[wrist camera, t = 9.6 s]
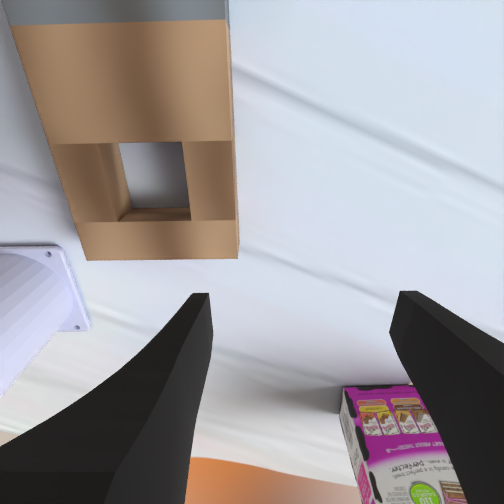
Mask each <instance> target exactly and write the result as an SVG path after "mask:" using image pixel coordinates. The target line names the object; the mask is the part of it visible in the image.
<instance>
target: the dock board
mask: <svg viewBox="0 0 504 504" xmlns="http://www.w3.org/2000/svg"><path fill="white" fill-rule="evenodd" d="M1 1H2V4H3V7H4V10H5V13H6V16H7V19H8V22H9V25H10V28H11V31H12V34H13V37H14V40H15V43H16V47H17V50H18V53H19V56H20V59H21V62H22V65H23V68H24V71H25V74H26V77H27V80H28V83H29V86H30V89H31V92H32V95H33V98H34V101H35V104H36V108H37V111H38V114H39V117H40V120H41V123H42V126H43V129H44V132H45V135H46V138H47V141H48V144H49V147H50V150H51V153H52V156H53V159H54V162H55V165H56V168H57V172H58V175H59V178H60V181H61V184H62V187H63V190H64V193H65V196H66V199H67V202H68V205H69V208H70V211H71V214H72V217H73V220H74V223H75V226H76V229H77V233H78V236H79V239H80V242H81V245H82V248H83V251H84V254H85V257H86V260H87V261H94V260H172V259H238V250H239V222H238V200H237V178H236V156H235V134H234V112H233V90H232V68H231V46H230V24H229V2H228V0H1ZM134 142H182V148H183V156H184V164H185V171H186V179H187V187H188V195H189V203H190V207H182V208H132V204H131V199H130V195H129V190H128V186H127V181H126V177H125V172H124V168H123V163H122V159H121V154H120V150H119V145H118V143H134Z"/></svg>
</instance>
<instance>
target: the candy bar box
mask: <svg viewBox="0 0 504 504" xmlns="http://www.w3.org/2000/svg"><path fill="white" fill-rule="evenodd" d="M339 419H340V423H341V427H342V431H343V434H344V438H345V441H346V445H347V449H348V452H349V456H350V460H351V464H352V468H353V471H354V475H355V478H356V482H357V485H358V489H359V493H360V497H361V501H362V504H467V501H466V498H465V496H464V493H463V490H462V488H461V485H460V483H459V480H458V478H457V475H456V473H455V470H454V468H453V465H452V463H451V460H450V458H449V456H448V453H447V451H446V449H445V446H444V444H443V442H442V439H441V437H440V435H439V432H438V430H437V428H436V426H435V424H434V422H433V420H432V418H431V416H430V414H429V412H428V410H427V409H426V407H425V405H424V403H423V401H422V399H421V398H420V396H419V394H418V392H417V390H416V389H415V387H414V385H395V386H370V387H346V388H343V392H342V401H341V406H340V412H339Z"/></svg>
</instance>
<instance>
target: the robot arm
mask: <svg viewBox="0 0 504 504" xmlns="http://www.w3.org/2000/svg"><path fill="white" fill-rule="evenodd" d="M47 251H48V252H50V253H51V255H50V254H49V253H48V252H47ZM77 325H78V326H77ZM90 326H91V325H90V322H89V319H88V317H87V314H86V311H85V308H84V306H83V303H82V300H81V297H80V295H79V292H78V289H77V286H76V284H75V281H74V278H73V275H72V273H71V270H70V267H69V264H68V262H67V259H66V256H65V253H64V251H63V250H62V249H61V248H60V247H58V246H17V247H0V398H1V397H2V396H3V395H4V394H5V392H6V391H7V390H8V389H9V388H10V386H11V385H12V384H13V383H14V382H15V381H16V379H17V378H18V377H19V376H20V375H21V373H22V372H23V371H24V370H25V369H26V368H27V366H28V365H29V364H30V363H31V362H32V360H33V359H34V358H35V357H36V356H37V354H38V353H39V352H40V351H41V350H42V349H43V347H44V346H45V345H46V344H47V343H48V341H49V340H50V339H51V338H52V337H53V336H54V334H55V333H56V332H82V331H88V330H89V328H90ZM389 333H390V336H391V339H392V342H393V344H394V347H395V350H396V352H397V355H398V357H399V359H400V361H401V363H402V365H403V367H404V368H405V370H406V372H407V374H408V376H409V378H410V379H411V381H412V383H413V385H414V387H415V389H416V390H417V392H418V394H419V396H420V398H421V399H422V401H423V403H424V405H425V407H426V409H427V410H428V412H429V414H430V416H431V418H432V420H433V422H434V424H435V426H436V428H437V430H438V432H439V435H440V437H441V439H442V442H443V444H444V446H445V449H446V451H447V453H448V456H449V458H450V460H451V463H452V465H453V468H454V470H455V473H456V475H457V478H458V480H459V483H460V485H461V488H462V490H463V493H464V496H465V498H466V501H467V504H504V343H502V342H501V341H499V340H497V339H495V338H494V337H492V336H490V335H488V334H487V333H485V332H483V331H482V330H480V329H478V328H477V327H475V326H473V325H472V324H470V323H468V322H467V321H465V320H464V319H462V318H460V317H459V316H457V315H456V314H454V313H452V312H451V311H449V310H448V309H446V308H444V307H443V306H441V305H440V304H438V303H437V302H435V301H433V300H432V299H430V298H428V297H427V296H425V295H423V294H422V293H420V292H418V291H400V293H399V296H398V300H397V304H396V308H395V312H394V316H393V319H392V323H391V327H390V331H389ZM212 341H213V326H212V317H211V308H210V299H209V293H193V294H191V295H190V297H189V298H188V299H187V300H186V302H185V303H184V304H183V305H182V307H181V308H180V309H179V310H178V311H177V313H176V314H175V315H174V316H173V317H172V318H171V320H170V321H169V322H168V323H167V324H166V325H165V326H164V327H163V329H162V330H161V331H160V332H159V333H158V334H157V335H156V336H155V337H154V338H153V339H152V340H151V341H150V342H149V343H148V344H147V345H146V346H145V347H144V348H143V349H142V350H141V351H140V352H139V353H138V354H137V355H136V356H134V357H133V358H132V359H131V360H130V361H129V362H128V363H127V364H125V365H124V366H123V367H122V368H121V369H119V370H118V371H117V372H116V373H114V374H113V375H112V376H110V377H109V378H108V379H106V380H105V381H104V382H102V383H101V384H100V385H98V386H97V387H96V388H94V389H93V390H92V391H90V392H89V393H88V394H86V395H85V396H83V397H82V398H80V399H79V400H77V401H76V402H74V403H73V404H71V405H70V406H68V407H67V408H65V409H63V410H62V411H60V412H59V413H57V414H56V415H54V416H52V417H51V418H49V419H47V420H46V421H44V422H42V423H41V424H39V425H37V426H35V427H34V428H32V429H30V430H28V431H27V432H25V433H23V434H21V435H20V436H18V437H16V438H15V439H13V440H11V441H9V442H7V443H6V444H4V445H2V446H1V447H0V504H184V503H185V495H186V487H187V479H188V471H189V464H190V456H191V449H192V442H193V435H194V428H195V423H196V418H197V413H198V409H199V405H200V401H201V397H202V392H203V388H204V384H205V380H206V375H207V371H208V367H209V363H210V358H211V350H212Z"/></svg>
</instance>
